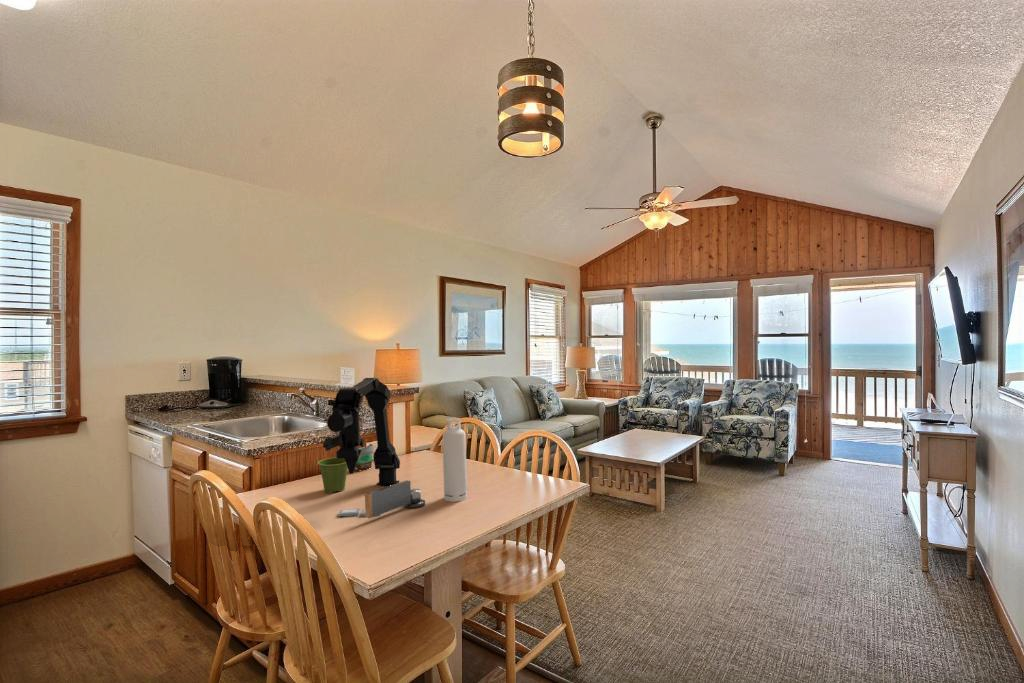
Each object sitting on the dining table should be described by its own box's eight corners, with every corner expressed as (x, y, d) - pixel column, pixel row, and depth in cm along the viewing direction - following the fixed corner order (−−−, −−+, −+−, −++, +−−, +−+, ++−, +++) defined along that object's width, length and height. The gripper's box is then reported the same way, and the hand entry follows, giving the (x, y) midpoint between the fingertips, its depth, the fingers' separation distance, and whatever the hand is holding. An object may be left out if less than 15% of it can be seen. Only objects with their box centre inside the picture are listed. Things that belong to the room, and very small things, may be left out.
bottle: (444, 502, 172) (442, 421, 172) (443, 495, 180) (442, 418, 180) (467, 500, 174) (465, 420, 174) (466, 493, 182) (464, 417, 182)
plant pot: (313, 495, 184) (312, 465, 184) (324, 486, 196) (324, 457, 196) (345, 494, 184) (344, 464, 184) (355, 485, 196) (354, 456, 196)
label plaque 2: (362, 512, 164) (362, 509, 164) (381, 511, 165) (381, 507, 165) (361, 516, 160) (360, 513, 160) (380, 515, 161) (380, 511, 161)
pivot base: (413, 500, 175) (413, 497, 175) (429, 503, 172) (429, 500, 172) (400, 506, 169) (400, 503, 169) (416, 509, 166) (416, 506, 166)
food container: (358, 473, 213) (357, 450, 213) (348, 471, 217) (348, 448, 217) (380, 467, 224) (379, 444, 224) (371, 465, 227) (370, 443, 227)
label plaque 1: (340, 513, 164) (340, 509, 164) (359, 511, 165) (359, 508, 165) (338, 517, 160) (338, 513, 160) (358, 515, 161) (357, 512, 161)
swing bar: (415, 498, 173) (414, 476, 173) (423, 500, 171) (422, 478, 171) (363, 517, 156) (362, 492, 156) (371, 519, 153) (370, 495, 153)
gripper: (329, 423, 171) (330, 468, 171) (318, 432, 153) (319, 483, 153) (363, 421, 173) (364, 466, 173) (356, 430, 155) (357, 480, 155)
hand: (351, 473), depth 164 cm, fingers closed
